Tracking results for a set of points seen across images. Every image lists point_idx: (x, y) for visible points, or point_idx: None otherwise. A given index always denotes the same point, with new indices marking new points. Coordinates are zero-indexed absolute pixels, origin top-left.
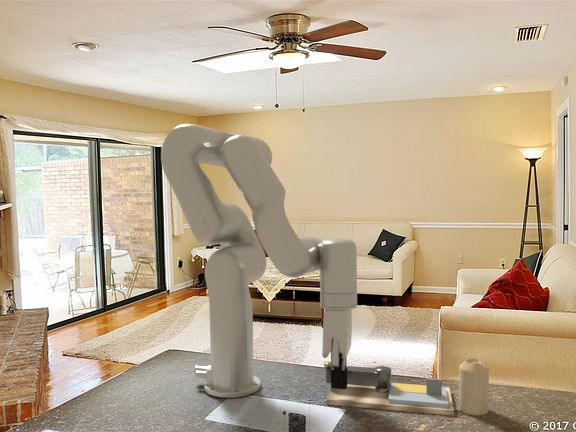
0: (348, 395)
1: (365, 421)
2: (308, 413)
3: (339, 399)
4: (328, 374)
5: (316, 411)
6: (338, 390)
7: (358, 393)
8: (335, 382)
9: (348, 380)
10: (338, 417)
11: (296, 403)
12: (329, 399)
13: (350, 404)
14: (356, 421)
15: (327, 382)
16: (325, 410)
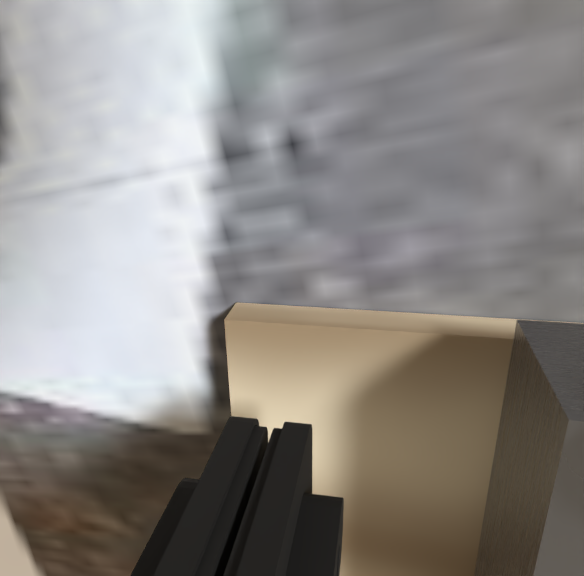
0: (350, 476)
1: (74, 524)
2: (35, 188)
3: (254, 416)
4: (536, 402)
5: (91, 243)
6: (450, 405)
7: (406, 541)
8: (174, 503)
9: (492, 553)
10: (62, 393)
11: (182, 30)
12: (230, 344)
13: None
14: (55, 484)
15: (516, 334)
16: (131, 305)
